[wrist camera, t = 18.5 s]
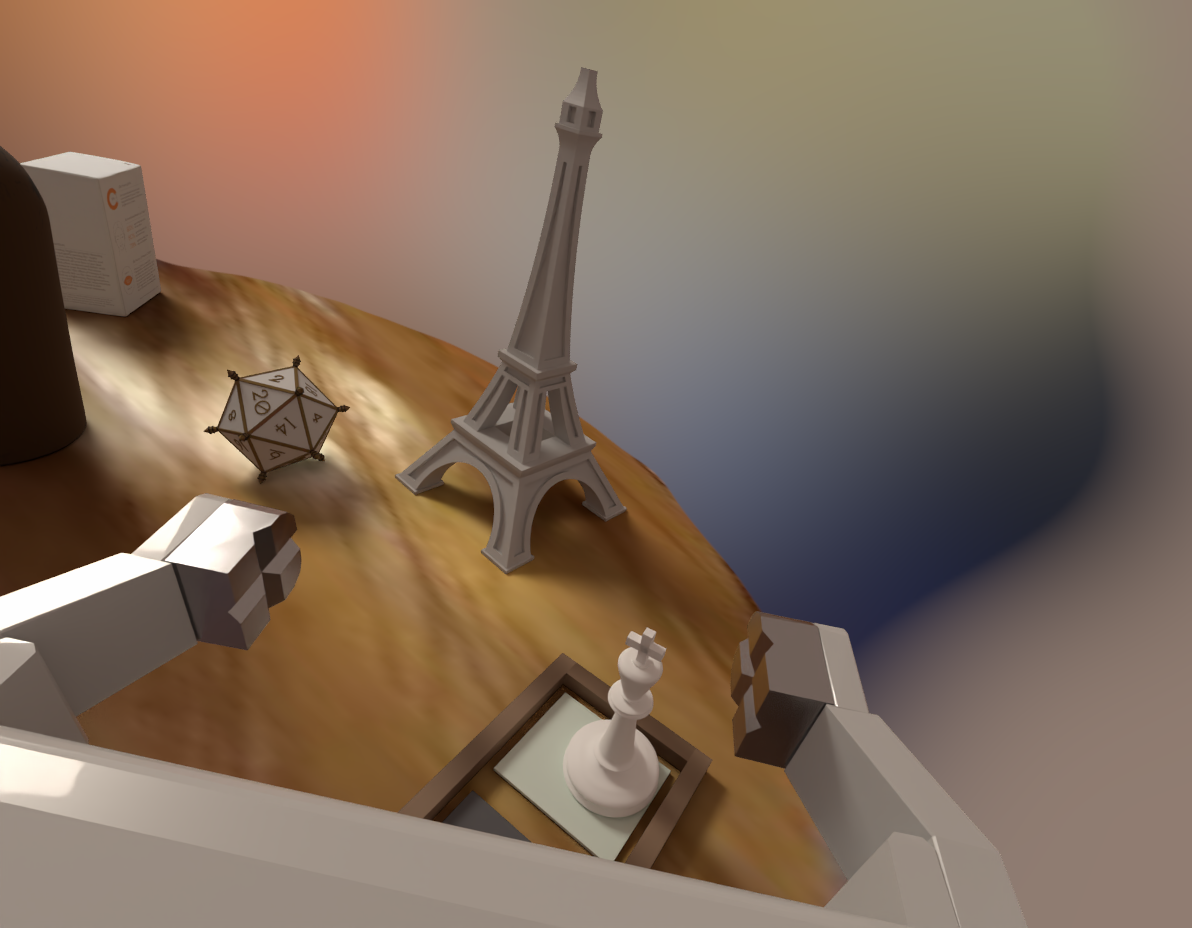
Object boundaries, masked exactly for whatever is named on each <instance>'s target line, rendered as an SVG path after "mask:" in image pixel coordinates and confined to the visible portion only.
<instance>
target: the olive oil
mask: <svg viewBox="0 0 1192 928" xmlns="http://www.w3.org/2000/svg"><path fill="white" fill-rule="evenodd" d="M85 426H86V416H85V410H84V406H83V401H82V396H81V391H80V386H79V381H78V377H77V372H76V367H75V362H74V357H73V352H72V346H71V341H70V335H69V330H68V324H67V318H66V313H65V307H64V302H63V296H62V291H61V285H60V279H59V273H58V267H57V261H56V255H55V249H54V243H53V237H52V231H51V225H50V219H49V215H48V211H47V208H46V205H45V203H44V200H43V198H42V196H41V194H40V192H39V191H38V189H37V187H36V186H35V184H34V182H33V181H32V179H31V177H30V176H29V174H28V173H27V172H26V170H25V169H24V168H23V167H22V165H21V164H20V163H19V162H18V161H17V160H16V159H15V158H14V157H13V156H12V155H10V154H9V153H8V152H7V151H6V150H5V149H3V148H2V147H1V146H0V465H6V464H12V463H18V462H23V461H27V460H31V459H35V458H38V457H41V456H44V455H47V454H50V453H52V452H55V451H57V450H59V449H61V448H63V447H65V446H67V445H68V444H70V443H71V442H73V441H74V440H75V439H77V438H78V437H79V436H80V435H81V434H82V432H83V431H84V429H85Z"/></svg>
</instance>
